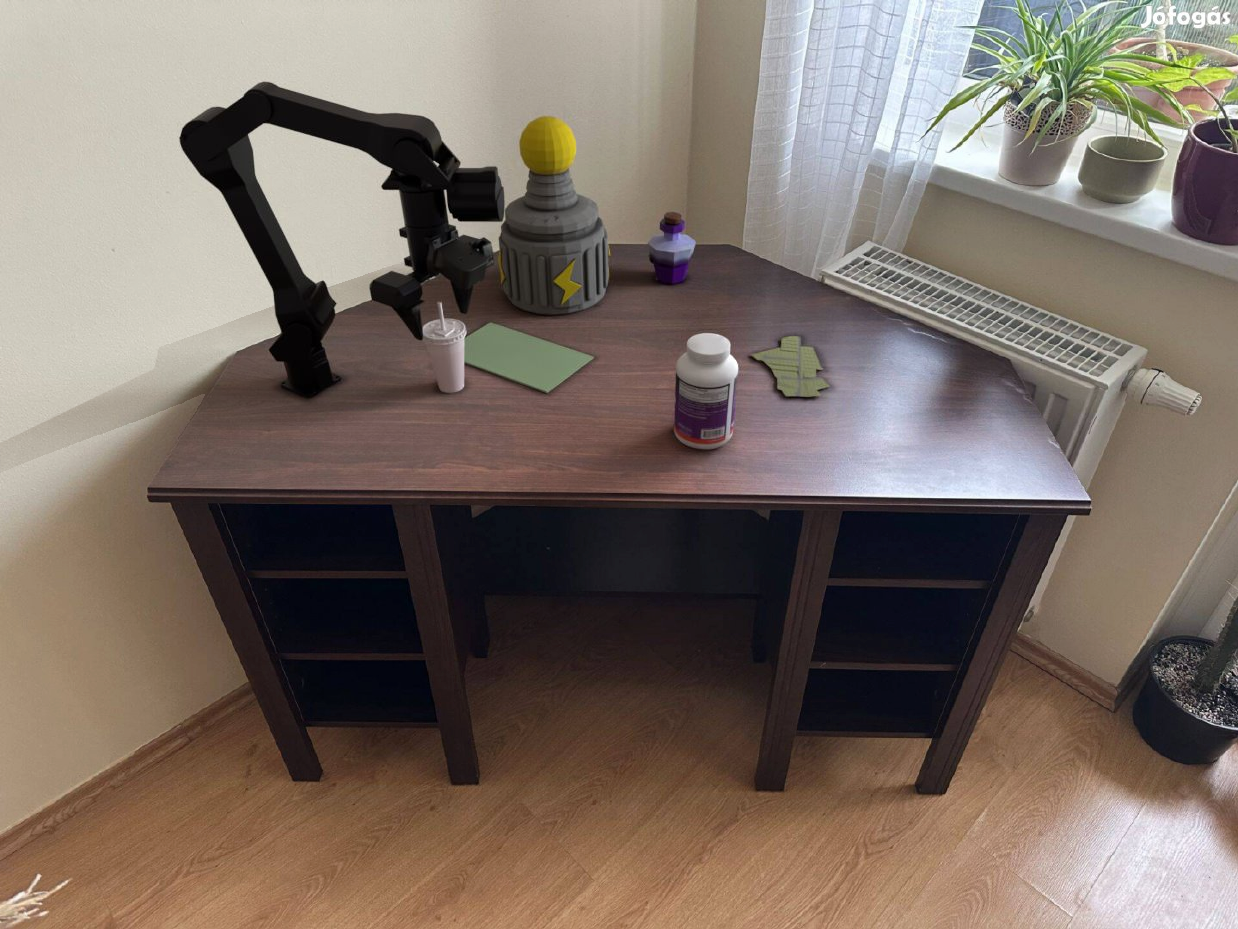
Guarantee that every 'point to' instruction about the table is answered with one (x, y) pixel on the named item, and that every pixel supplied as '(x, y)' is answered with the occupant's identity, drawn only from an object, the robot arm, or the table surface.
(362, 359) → the table surface
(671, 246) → the potion bottle
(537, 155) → the decorative lamp
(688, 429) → the pill bottle
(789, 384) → the olive flat irregular sheet
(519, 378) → the green cloth
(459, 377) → the smoothie
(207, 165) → the robot arm
